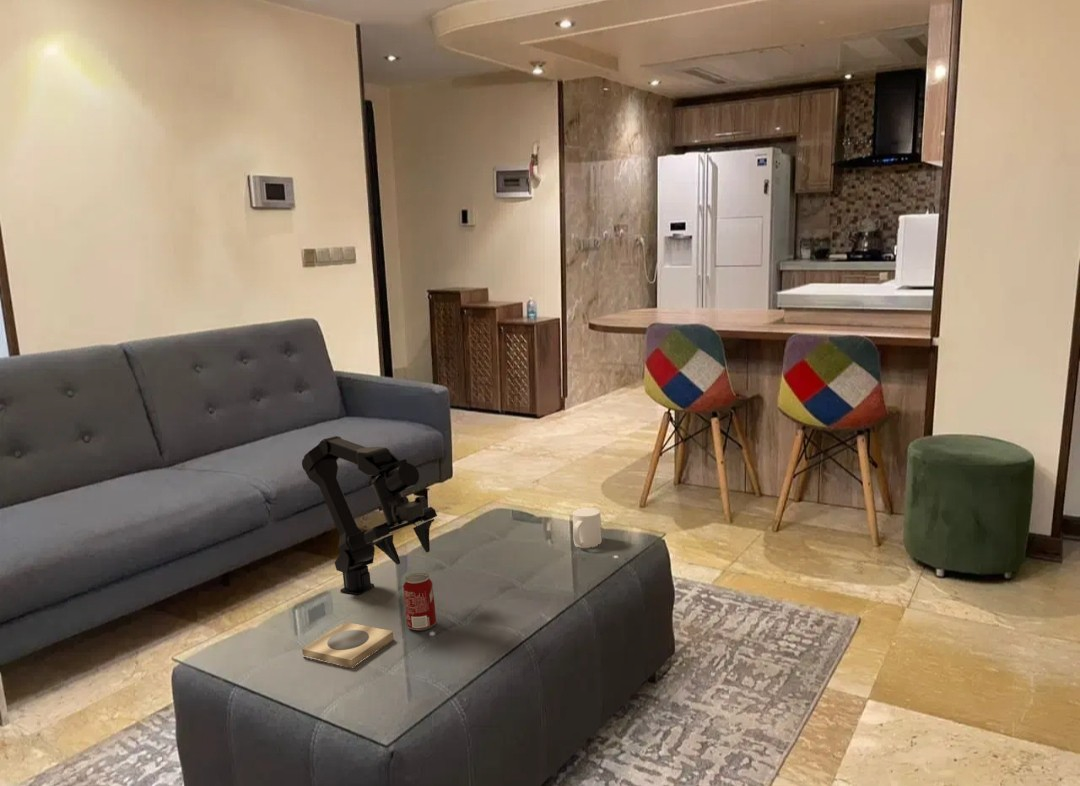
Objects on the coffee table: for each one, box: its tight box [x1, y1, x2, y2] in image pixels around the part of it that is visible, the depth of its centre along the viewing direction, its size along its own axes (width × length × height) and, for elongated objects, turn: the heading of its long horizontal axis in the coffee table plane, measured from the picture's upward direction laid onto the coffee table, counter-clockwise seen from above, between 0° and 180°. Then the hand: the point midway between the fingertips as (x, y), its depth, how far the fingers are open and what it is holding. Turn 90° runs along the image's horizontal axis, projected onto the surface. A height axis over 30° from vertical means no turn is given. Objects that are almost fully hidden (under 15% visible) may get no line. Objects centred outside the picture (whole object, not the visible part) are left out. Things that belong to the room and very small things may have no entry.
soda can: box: [402, 572, 437, 632], centre depth 187 cm, size 7×7×12 cm
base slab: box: [301, 621, 395, 669], centre depth 179 cm, size 14×14×2 cm
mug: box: [572, 507, 603, 549], centre depth 233 cm, size 12×9×8 cm
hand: (413, 558), depth 194 cm, fingers open, 9 cm apart
